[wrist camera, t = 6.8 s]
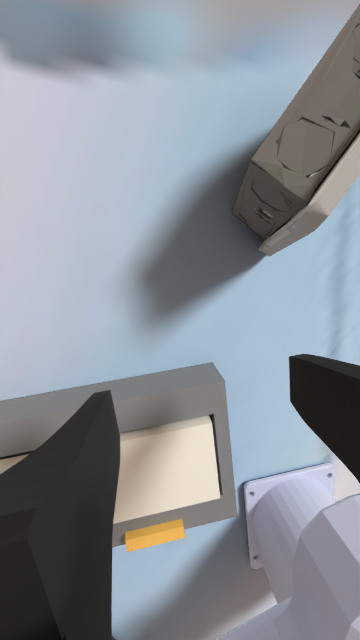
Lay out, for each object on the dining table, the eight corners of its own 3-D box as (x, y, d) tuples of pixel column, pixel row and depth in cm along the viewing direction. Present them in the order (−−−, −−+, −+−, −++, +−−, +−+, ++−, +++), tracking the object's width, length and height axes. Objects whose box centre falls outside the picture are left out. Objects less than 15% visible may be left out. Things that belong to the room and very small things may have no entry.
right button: (212, 476, 22) (220, 498, 20) (82, 506, 21) (77, 532, 19) (204, 406, 21) (212, 423, 19) (63, 434, 20) (56, 455, 18)
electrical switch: (264, 259, 20) (352, 256, 11) (205, 212, 20) (247, 168, 10) (352, 140, 19) (525, 32, 10) (293, 85, 19) (426, -87, 9)
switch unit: (224, 484, 25) (240, 523, 21) (-76, 554, 22) (-115, 612, 18) (212, 362, 22) (227, 385, 18) (-137, 426, 19) (-196, 466, 16)
